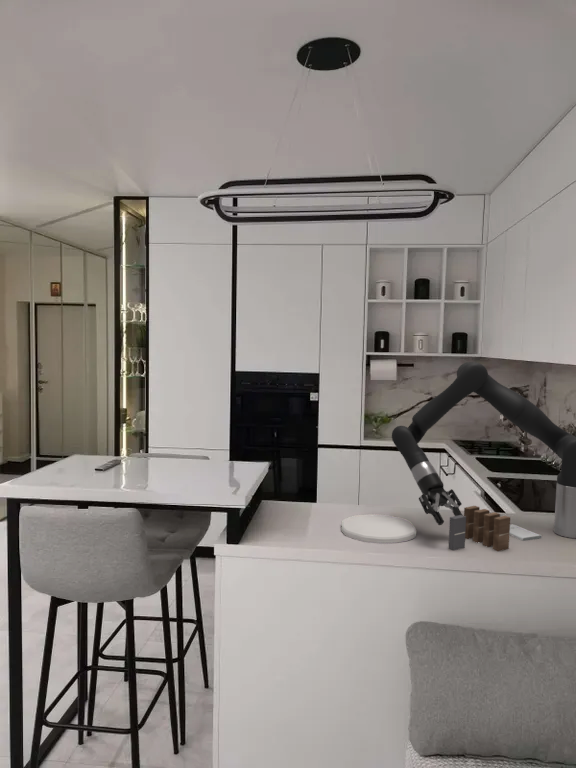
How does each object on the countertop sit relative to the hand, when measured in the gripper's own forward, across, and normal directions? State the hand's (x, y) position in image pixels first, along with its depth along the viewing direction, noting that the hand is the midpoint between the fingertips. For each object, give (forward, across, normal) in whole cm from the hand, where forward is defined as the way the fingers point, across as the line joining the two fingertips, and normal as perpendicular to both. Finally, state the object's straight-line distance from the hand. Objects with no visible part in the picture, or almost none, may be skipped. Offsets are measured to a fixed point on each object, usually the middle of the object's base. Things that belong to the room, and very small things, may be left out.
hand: (451, 521), depth 179 cm
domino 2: (+4, +12, +7) cm, 14 cm away
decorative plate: (-10, -12, +21) cm, 26 cm away
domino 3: (+6, +12, +4) cm, 14 cm away
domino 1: (+7, 0, +4) cm, 8 cm away
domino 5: (+12, +12, -1) cm, 17 cm away
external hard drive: (+8, +29, +4) cm, 31 cm away
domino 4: (+9, +12, +1) cm, 15 cm away
